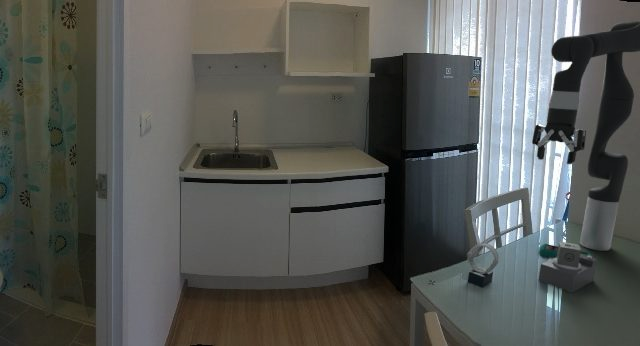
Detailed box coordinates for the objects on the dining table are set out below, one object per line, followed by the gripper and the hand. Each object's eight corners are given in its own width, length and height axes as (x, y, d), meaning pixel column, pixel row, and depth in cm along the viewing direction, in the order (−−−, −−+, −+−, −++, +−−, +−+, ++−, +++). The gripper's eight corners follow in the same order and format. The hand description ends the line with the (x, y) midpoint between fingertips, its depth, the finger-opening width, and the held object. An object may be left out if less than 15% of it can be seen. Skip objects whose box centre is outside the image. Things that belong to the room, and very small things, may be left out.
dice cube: (556, 257, 129) (559, 241, 128) (576, 261, 127) (579, 244, 126) (557, 263, 125) (560, 246, 124) (578, 267, 123) (581, 250, 122)
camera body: (561, 269, 136) (565, 247, 135) (593, 280, 130) (597, 257, 128) (538, 280, 128) (542, 256, 126) (571, 292, 121) (575, 267, 120)
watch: (470, 274, 129) (475, 238, 127) (497, 284, 124) (503, 246, 122) (460, 279, 125) (465, 242, 123) (488, 290, 120) (494, 250, 118)
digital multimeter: (540, 250, 154) (541, 241, 154) (590, 260, 146) (592, 252, 146) (537, 256, 148) (539, 247, 147) (590, 268, 140) (591, 259, 140)
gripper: (594, 109, 130) (585, 164, 133) (545, 105, 141) (537, 156, 144) (583, 109, 125) (574, 166, 128) (533, 105, 136) (525, 158, 139)
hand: (554, 161), depth 136 cm, fingers open, 8 cm apart
